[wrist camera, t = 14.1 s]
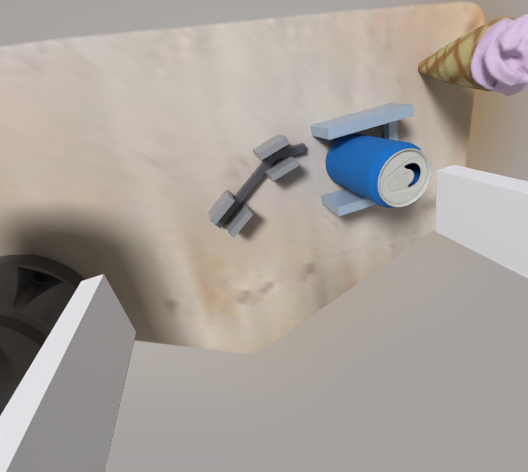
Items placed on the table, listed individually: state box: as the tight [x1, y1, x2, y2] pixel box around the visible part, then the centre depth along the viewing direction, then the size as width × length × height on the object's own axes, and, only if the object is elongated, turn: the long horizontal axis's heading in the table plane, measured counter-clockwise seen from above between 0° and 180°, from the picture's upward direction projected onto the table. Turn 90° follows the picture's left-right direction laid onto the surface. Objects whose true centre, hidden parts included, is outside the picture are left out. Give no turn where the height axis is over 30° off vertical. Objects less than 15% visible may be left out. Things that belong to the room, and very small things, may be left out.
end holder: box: [311, 103, 413, 216], centre depth 37 cm, size 11×10×5 cm
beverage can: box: [326, 133, 432, 207], centre depth 34 cm, size 6×6×12 cm
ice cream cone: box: [418, 13, 528, 96], centre depth 31 cm, size 7×6×15 cm
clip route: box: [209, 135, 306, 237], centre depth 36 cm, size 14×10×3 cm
